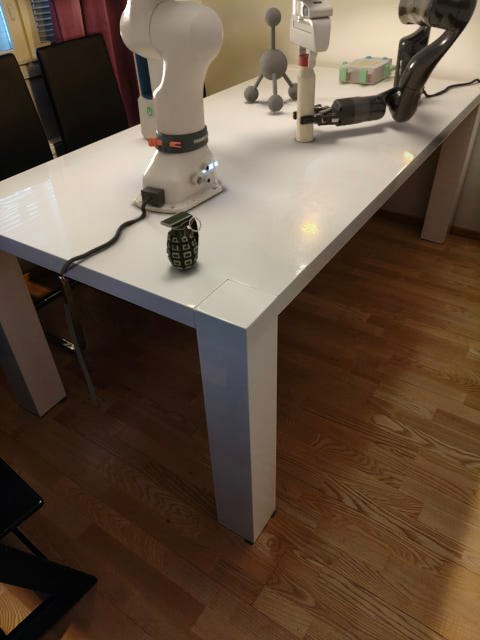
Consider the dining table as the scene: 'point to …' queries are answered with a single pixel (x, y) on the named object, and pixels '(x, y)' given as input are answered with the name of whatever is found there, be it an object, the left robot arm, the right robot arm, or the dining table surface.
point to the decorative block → (366, 70)
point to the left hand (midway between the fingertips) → (307, 65)
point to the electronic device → (148, 92)
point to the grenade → (182, 240)
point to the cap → (304, 60)
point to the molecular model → (272, 67)
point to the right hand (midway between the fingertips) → (297, 118)
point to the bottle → (305, 102)
